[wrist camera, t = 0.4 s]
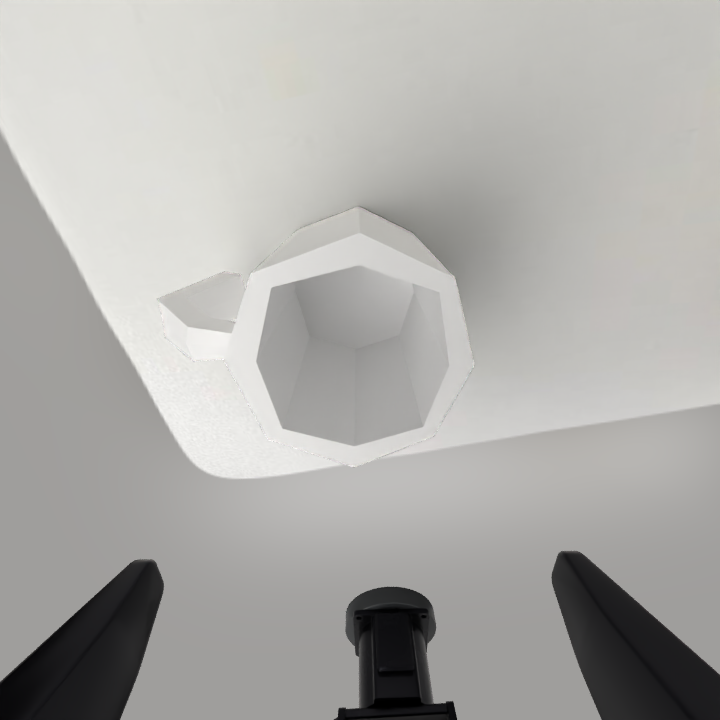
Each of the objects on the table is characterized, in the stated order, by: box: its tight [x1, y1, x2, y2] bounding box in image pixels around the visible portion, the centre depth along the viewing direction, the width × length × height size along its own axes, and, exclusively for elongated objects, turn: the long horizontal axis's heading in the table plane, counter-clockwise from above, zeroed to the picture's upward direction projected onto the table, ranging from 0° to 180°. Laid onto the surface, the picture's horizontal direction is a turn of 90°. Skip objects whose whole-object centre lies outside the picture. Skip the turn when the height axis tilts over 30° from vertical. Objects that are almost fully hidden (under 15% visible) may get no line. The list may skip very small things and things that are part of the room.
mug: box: [157, 206, 475, 468], centre depth 17 cm, size 12×9×10 cm
